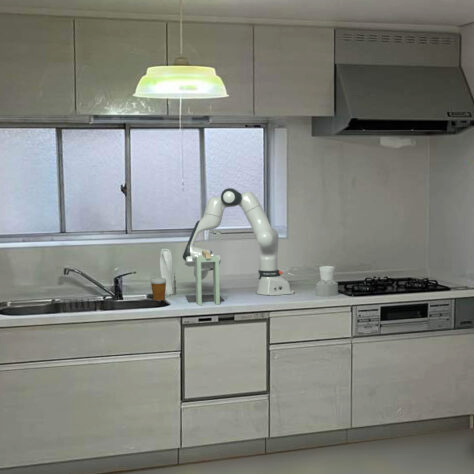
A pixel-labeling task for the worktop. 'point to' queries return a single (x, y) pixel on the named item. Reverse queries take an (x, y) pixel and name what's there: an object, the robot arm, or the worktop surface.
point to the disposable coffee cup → (158, 288)
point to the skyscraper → (167, 271)
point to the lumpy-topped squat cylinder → (326, 288)
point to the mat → (204, 298)
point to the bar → (206, 254)
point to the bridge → (215, 278)
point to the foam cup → (326, 272)
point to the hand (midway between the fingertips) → (204, 255)
